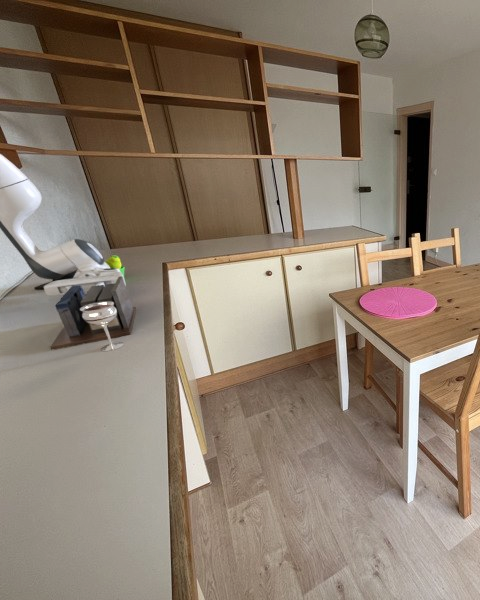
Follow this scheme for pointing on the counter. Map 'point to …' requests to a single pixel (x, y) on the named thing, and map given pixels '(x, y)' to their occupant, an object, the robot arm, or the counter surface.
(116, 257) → the fruit basket
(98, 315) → the wineglass
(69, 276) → the handheld gaming console
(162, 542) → the counter surface
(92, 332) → the book rack
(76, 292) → the vhs cassette tape
